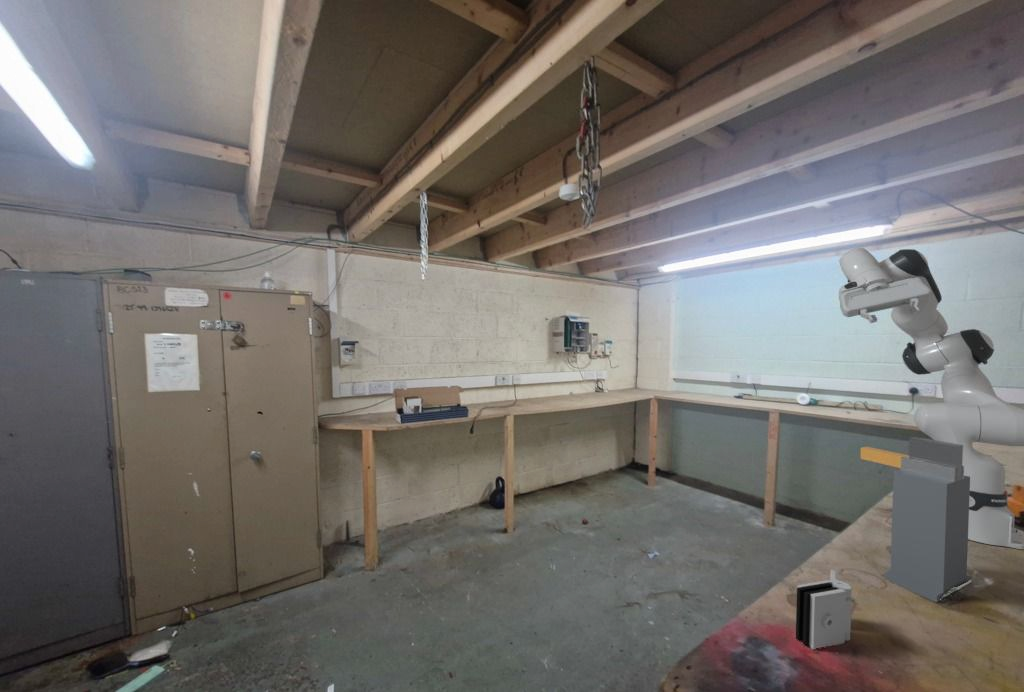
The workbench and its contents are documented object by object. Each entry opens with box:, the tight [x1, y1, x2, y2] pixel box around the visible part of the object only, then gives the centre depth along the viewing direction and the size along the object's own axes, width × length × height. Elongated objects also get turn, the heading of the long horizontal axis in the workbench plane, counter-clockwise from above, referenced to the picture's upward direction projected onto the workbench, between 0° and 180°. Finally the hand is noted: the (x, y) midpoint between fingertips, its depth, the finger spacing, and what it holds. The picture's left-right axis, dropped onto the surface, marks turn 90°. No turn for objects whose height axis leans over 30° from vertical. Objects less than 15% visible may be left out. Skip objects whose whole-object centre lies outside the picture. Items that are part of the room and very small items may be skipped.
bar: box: [860, 436, 963, 481], centre depth 95 cm, size 3×18×8 cm, turn 24°
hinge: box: [795, 569, 852, 650], centre depth 74 cm, size 14×5×10 cm, turn 116°
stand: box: [883, 457, 973, 603], centre depth 91 cm, size 18×9×29 cm, turn 114°
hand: (894, 317), depth 113 cm, fingers open, 8 cm apart
